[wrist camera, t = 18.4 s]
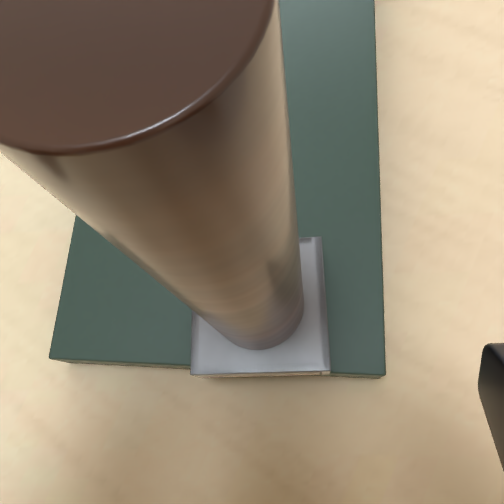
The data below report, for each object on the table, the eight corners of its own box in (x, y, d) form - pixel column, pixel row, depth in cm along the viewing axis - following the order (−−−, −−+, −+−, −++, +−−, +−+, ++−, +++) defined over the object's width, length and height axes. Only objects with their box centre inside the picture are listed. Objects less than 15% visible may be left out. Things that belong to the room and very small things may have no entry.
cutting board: (380, 378, 17) (386, 375, 15) (67, 362, 18) (47, 358, 17) (363, -218, 27) (366, -252, 26) (167, -195, 29) (159, -226, 28)
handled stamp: (329, 374, 16) (401, 221, 3) (200, 377, 16) (-221, 260, 3) (320, 250, 17) (343, -217, 4) (202, 257, 18) (-88, -145, 5)
